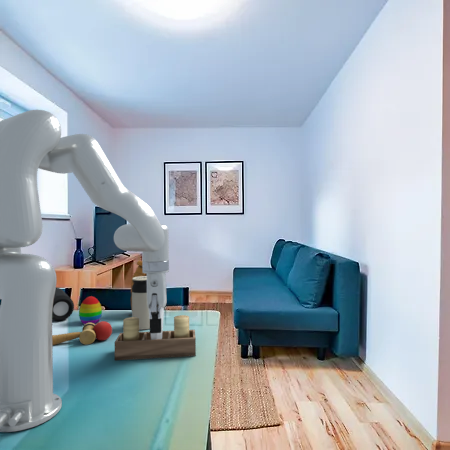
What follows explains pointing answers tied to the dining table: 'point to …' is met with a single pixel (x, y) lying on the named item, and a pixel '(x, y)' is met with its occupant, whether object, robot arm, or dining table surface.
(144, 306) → the travel mug
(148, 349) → the wooden condiment caddy
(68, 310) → the portable speaker
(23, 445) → the dining table surface
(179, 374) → the dining table surface
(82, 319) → the decorative egg
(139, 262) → the coffee package
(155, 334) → the white faceted vase
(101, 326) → the kendama
